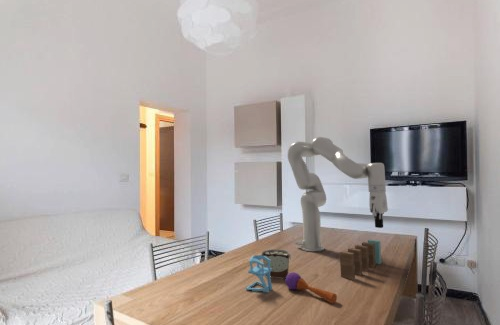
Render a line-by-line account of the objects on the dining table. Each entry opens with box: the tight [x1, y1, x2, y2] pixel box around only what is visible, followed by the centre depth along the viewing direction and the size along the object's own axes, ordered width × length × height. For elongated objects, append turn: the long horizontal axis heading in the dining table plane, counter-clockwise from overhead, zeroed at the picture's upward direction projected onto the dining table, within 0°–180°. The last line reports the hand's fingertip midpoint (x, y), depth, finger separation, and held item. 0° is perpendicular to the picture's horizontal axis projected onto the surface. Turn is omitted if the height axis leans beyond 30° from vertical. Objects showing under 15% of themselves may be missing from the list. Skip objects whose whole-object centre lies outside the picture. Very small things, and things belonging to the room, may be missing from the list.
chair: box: [245, 254, 273, 293], centre depth 109 cm, size 8×8×12 cm
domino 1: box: [339, 250, 356, 281], centre depth 118 cm, size 2×5×10 cm, turn 44°
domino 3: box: [354, 244, 370, 272], centre depth 127 cm, size 2×5×10 cm, turn 44°
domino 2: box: [347, 247, 363, 276], centre depth 122 cm, size 2×5×10 cm, turn 44°
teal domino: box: [367, 239, 382, 265], centre depth 136 cm, size 2×5×10 cm, turn 44°
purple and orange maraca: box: [284, 272, 338, 305], centre depth 103 cm, size 6×6×20 cm
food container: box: [261, 249, 292, 279], centre depth 122 cm, size 12×6×10 cm, turn 71°
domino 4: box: [361, 241, 377, 268], centre depth 131 cm, size 2×5×10 cm, turn 44°
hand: (379, 227), depth 139 cm, fingers closed
